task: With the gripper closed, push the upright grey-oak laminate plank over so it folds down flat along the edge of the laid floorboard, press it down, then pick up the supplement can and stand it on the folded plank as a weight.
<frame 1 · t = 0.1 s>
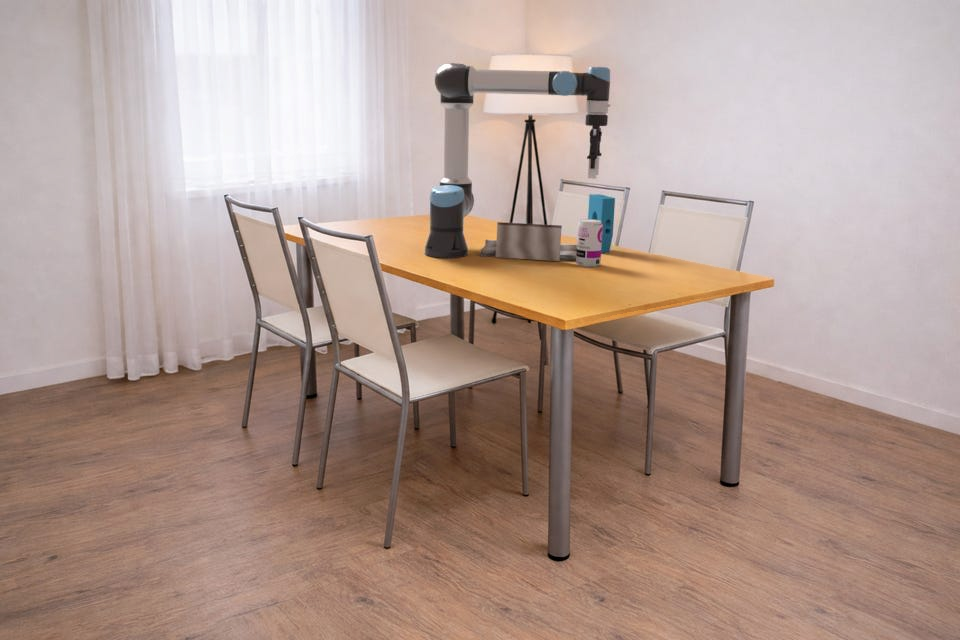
hand: (593, 176, 301), 28 cm above the table, fingers open, 13 cm apart
supplement can: (587, 265, 291), on the table
plank: (528, 241, 297), point 6 cm above the table, hinge at 97.0°
floorboard: (530, 259, 298), on the table
block: (598, 251, 317), on the table
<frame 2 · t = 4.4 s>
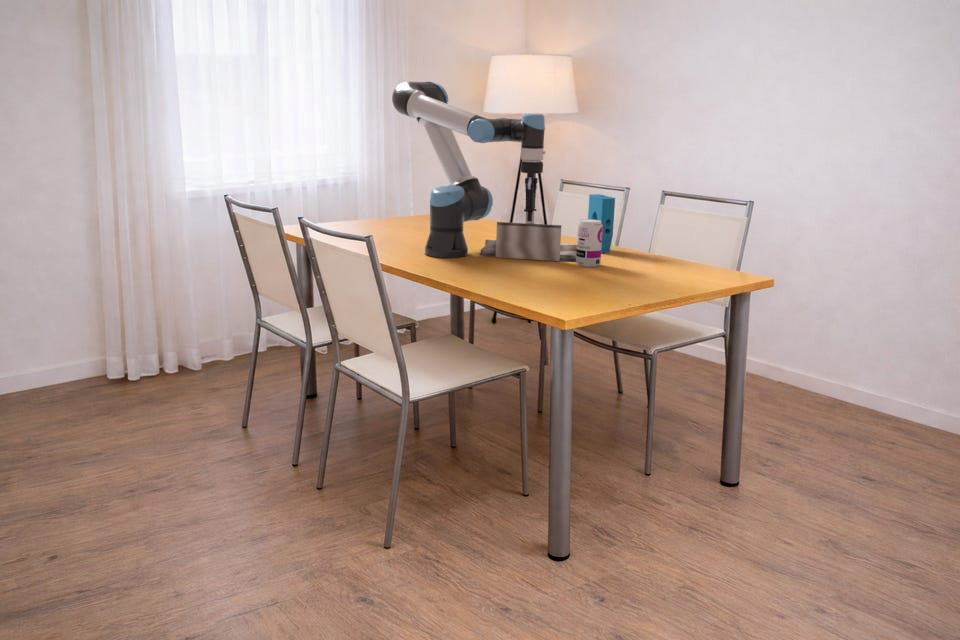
hand: (529, 230, 297), 10 cm above the table, fingers closed
plank: (528, 241, 296), point 6 cm above the table, hinge at 92.3°, touching gripper
everything else where it was.
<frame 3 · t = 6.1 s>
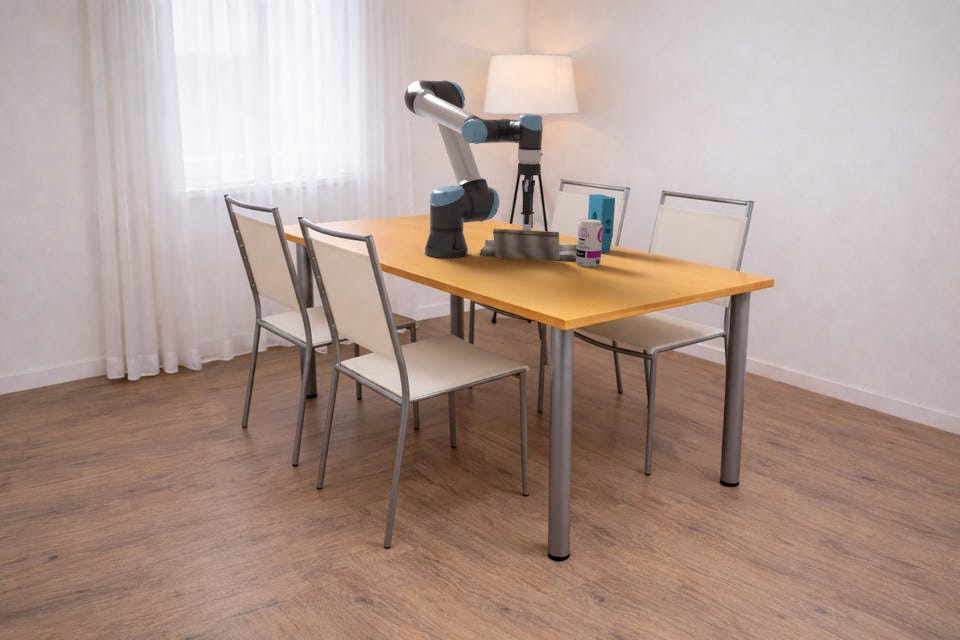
hand: (526, 233, 291), 10 cm above the table, fingers closed
plank: (526, 244, 293), point 6 cm above the table, hinge at 54.8°, touching gripper
everything else where it was.
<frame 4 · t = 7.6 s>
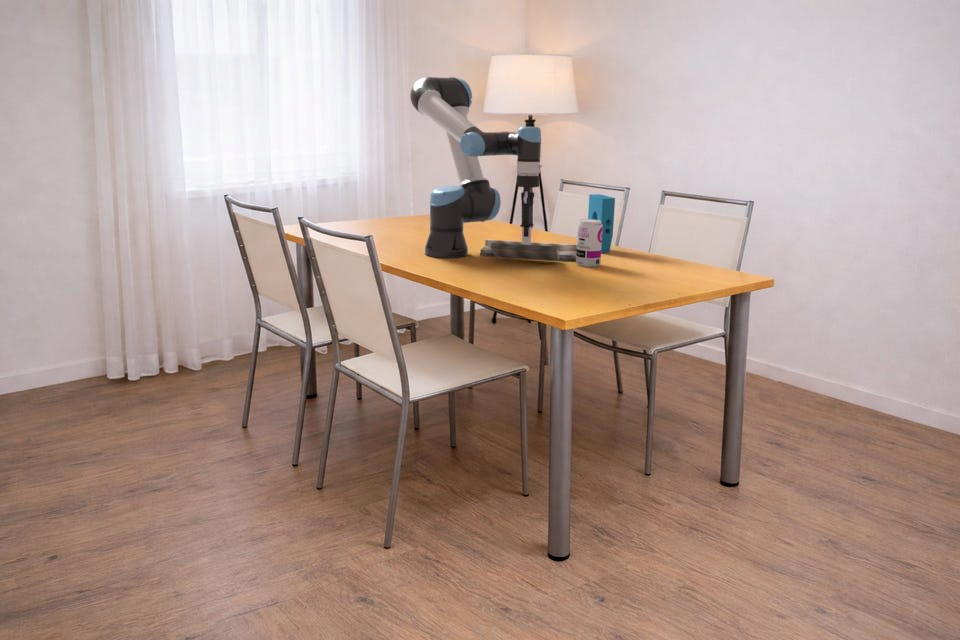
hand: (526, 245, 289), 6 cm above the table, fingers closed
plank: (525, 251, 291), point 4 cm above the table, hinge at 25.7°, touching gripper
everything else where it was.
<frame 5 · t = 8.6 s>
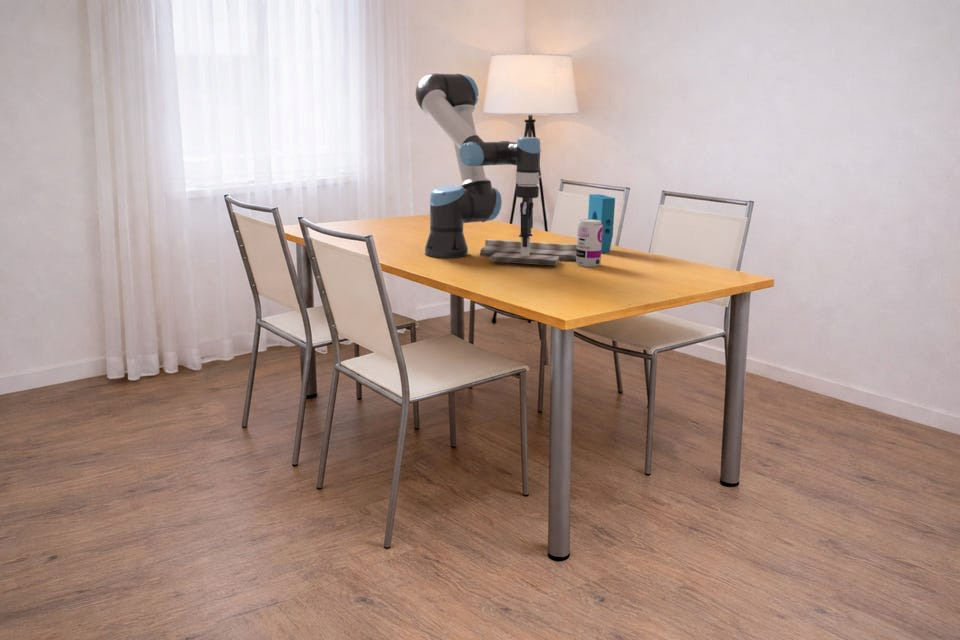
hand: (525, 255, 289), 3 cm above the table, fingers closed
plank: (524, 258, 291), point 2 cm above the table, hinge at 3.7°, touching gripper
everything else where it was.
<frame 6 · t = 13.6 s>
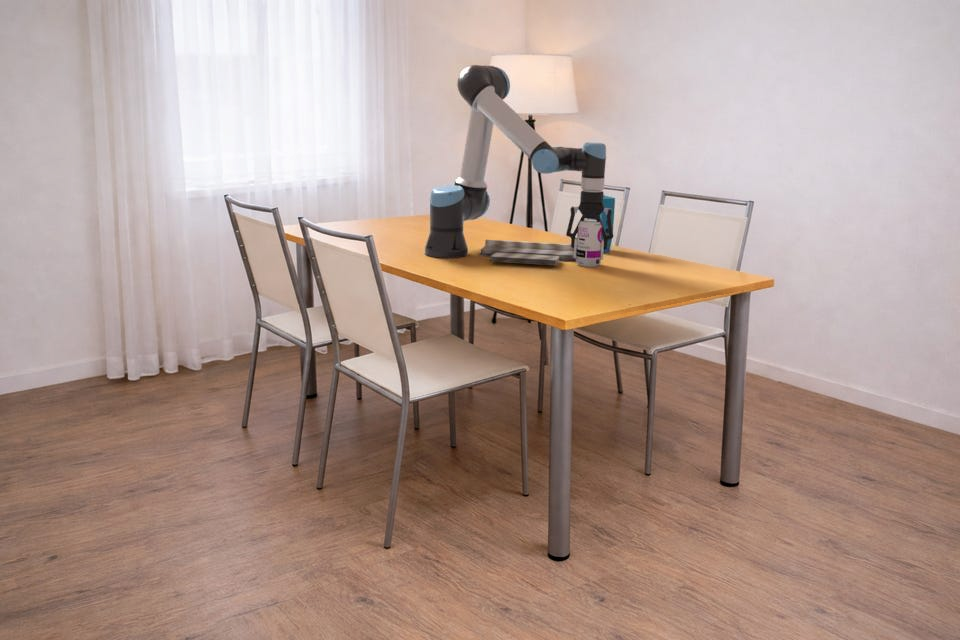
hand: (588, 258, 291), 2 cm above the table, fingers closed on supplement can, 8 cm apart
supplement can: (588, 265, 291), on the table, touching gripper
plank: (524, 258, 291), point 2 cm above the table, hinge at 3.6°
everything else where it was.
when the fingers open (6 cm above the table, at t = 18.8 s): supplement can drops 1 cm, resting on plank.
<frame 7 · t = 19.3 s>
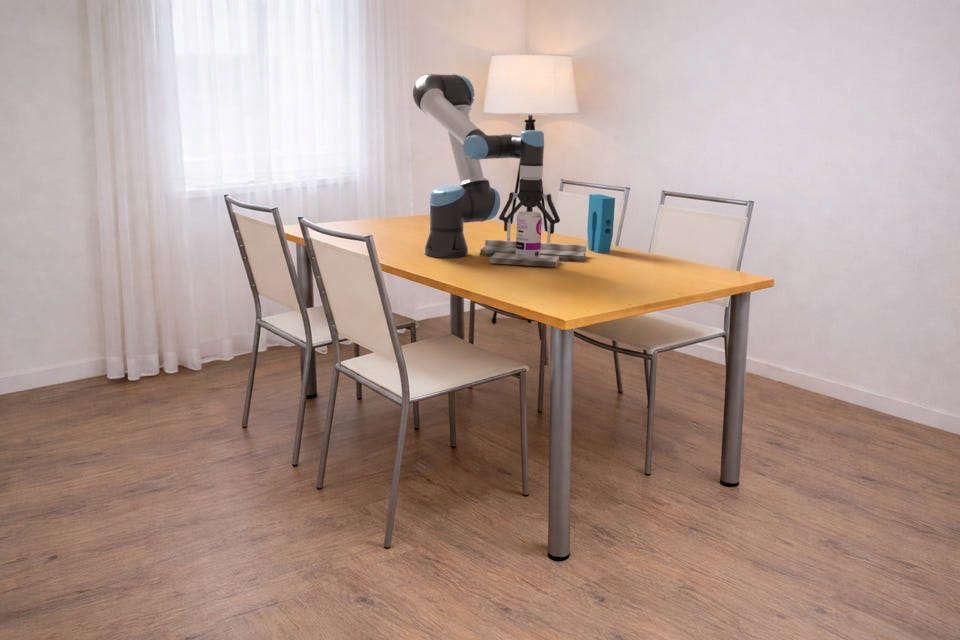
hand: (528, 242, 289), 7 cm above the table, fingers open, 13 cm apart
supplement can: (527, 258, 290), point 2 cm above the table, touching plank
plank: (524, 259, 291), point 1 cm above the table, hinge at 1.1°, touching supplement can
everything else where it was.
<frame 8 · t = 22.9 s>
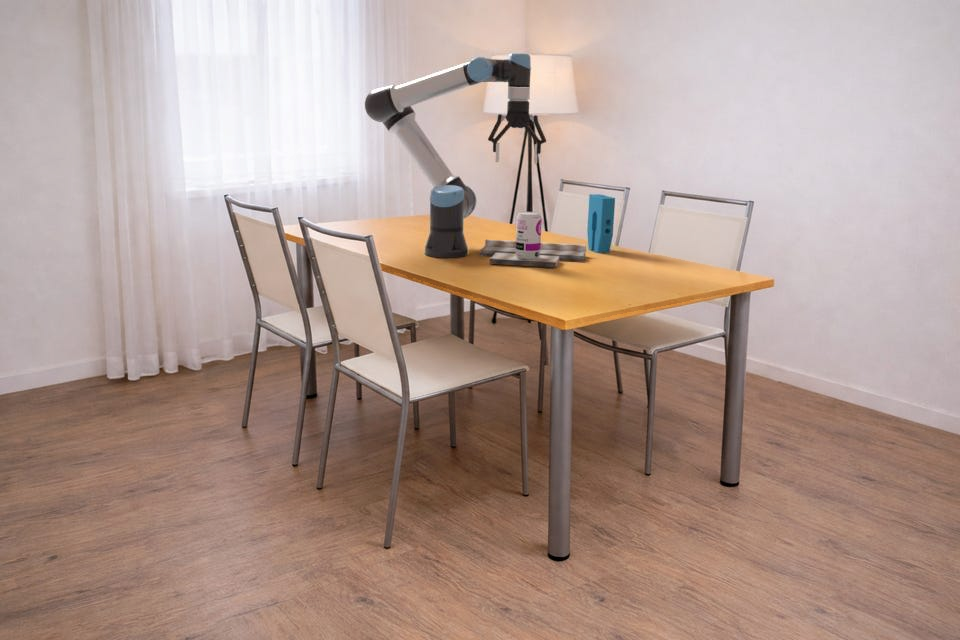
hand: (516, 162, 303), 32 cm above the table, fingers open, 13 cm apart
plank: (524, 259, 291), point 1 cm above the table, hinge at -0.1°, touching supplement can
everything else where it was.
at the end: plank at +0° (first picture: +97°); supplement can inside the target area on the plank (0.9 cm from its centre), point 1.4 cm above the plank's base; supplement can tilted 0° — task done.
